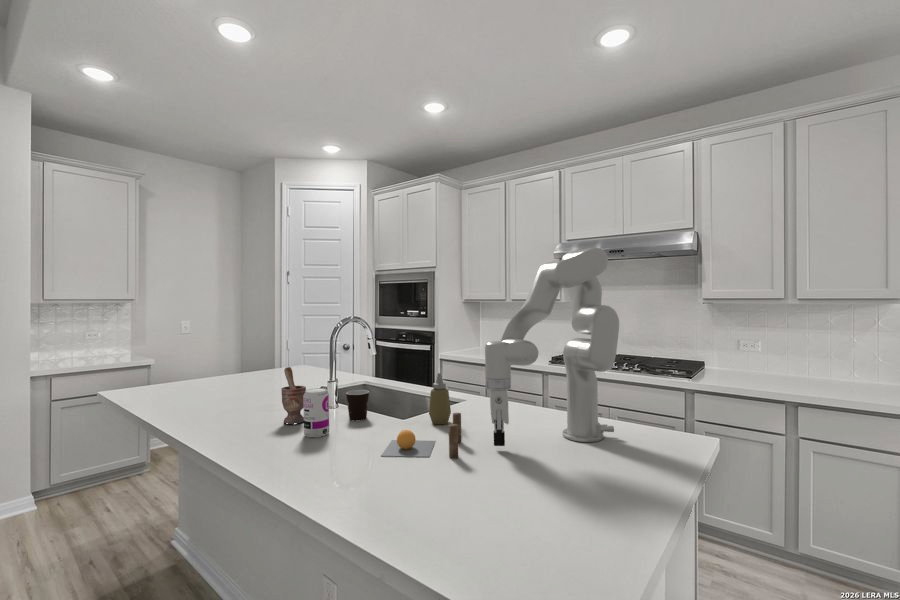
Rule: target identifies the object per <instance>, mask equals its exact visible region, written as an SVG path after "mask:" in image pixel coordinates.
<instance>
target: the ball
mask: <svg viewBox="0 0 900 600" xmlns="http://www.w3.org/2000/svg"><path fill="white" fill-rule="evenodd" d="M416 439H417V438H416V436H415V433H414V432H413V431H411V430H410V429H409V430H408V429H404V430H402V431H400V432H399V433H398V435H397V437H396V440H397V443H398V445H399V447H400V448H402V449H410V448H411V447H413V445H414V444H415V440H416Z"/></svg>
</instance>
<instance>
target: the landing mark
mask: <svg viewBox="0 0 900 600" xmlns="http://www.w3.org/2000/svg"><path fill="white" fill-rule="evenodd" d="M435 444H436V440H421V439H420V440H419V439H418V440H415V444H414V445H413V447H411V448H410V449H402V448H400V447H399V445H398V443H397V439H392V440H391V441H390V442H389V443H388V445H387V447H386V448H385V449H384V451H383V452H382V453H381V455H380V457H385V456H392V458H393V456H394V457H395V458H398V457H399V458H400V457H401V458H403V457H404V458H411V457H412V458H430V456H431V453H432V450H433V449H434V446H435Z"/></svg>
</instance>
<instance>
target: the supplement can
mask: <svg viewBox="0 0 900 600" xmlns="http://www.w3.org/2000/svg"><path fill="white" fill-rule="evenodd" d="M329 396H330V394H329V392H328V390H327V388H323V387H321V388H320V387H319V388H310V389H306V391H305V394H304V396H303V409H302V410H303V417H304V422H303V435H304V436H305V437H306V436H307V437H306V438H308V437H319V438H321V437H320V436H323V437H325V436H324V435H326V434H327V435H329V433H330V397H329ZM327 435H326V436H327Z"/></svg>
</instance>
